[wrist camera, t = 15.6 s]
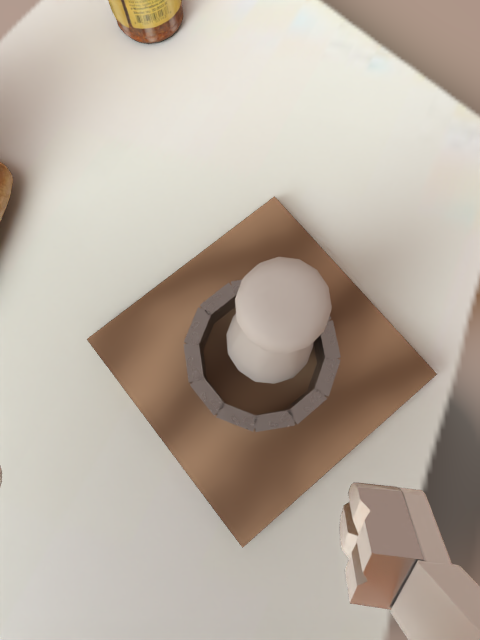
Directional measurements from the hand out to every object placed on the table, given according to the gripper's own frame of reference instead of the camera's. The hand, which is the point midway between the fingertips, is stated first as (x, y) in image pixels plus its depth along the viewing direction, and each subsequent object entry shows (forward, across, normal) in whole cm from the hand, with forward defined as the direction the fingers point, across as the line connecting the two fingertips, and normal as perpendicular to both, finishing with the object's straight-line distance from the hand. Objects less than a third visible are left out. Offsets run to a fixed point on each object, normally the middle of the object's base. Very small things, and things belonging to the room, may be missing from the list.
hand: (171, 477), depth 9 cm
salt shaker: (+19, +3, -9) cm, 21 cm away
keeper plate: (+19, +3, -10) cm, 22 cm away
